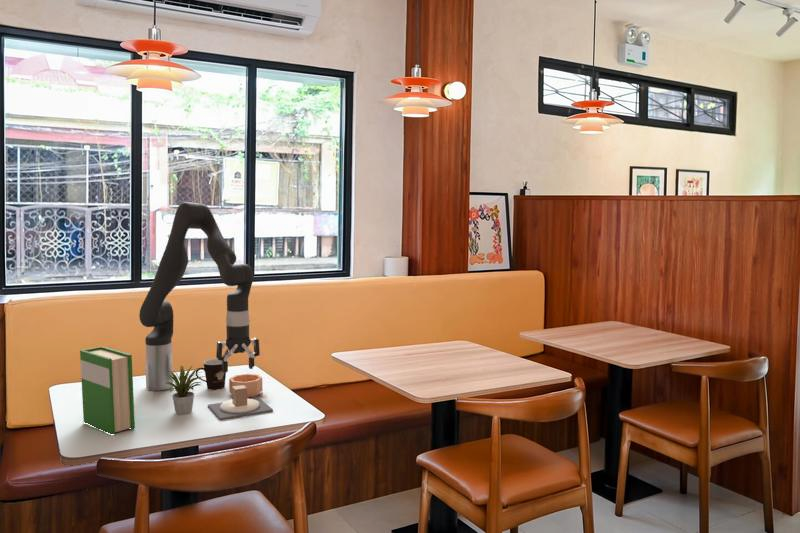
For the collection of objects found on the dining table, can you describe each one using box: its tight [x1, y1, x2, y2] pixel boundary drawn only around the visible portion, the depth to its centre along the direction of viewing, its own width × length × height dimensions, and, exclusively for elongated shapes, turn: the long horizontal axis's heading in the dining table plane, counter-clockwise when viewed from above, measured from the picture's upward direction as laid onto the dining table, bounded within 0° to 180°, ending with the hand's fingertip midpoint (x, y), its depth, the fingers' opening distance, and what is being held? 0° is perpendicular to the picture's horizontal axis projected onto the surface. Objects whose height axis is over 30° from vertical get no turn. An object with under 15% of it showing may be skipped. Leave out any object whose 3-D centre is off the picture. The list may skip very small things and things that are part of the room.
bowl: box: [228, 373, 264, 399], centre depth 244 cm, size 11×11×6 cm
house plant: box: [165, 365, 206, 416], centre depth 222 cm, size 14×14×16 cm
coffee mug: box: [195, 358, 227, 391], centre depth 252 cm, size 12×9×10 cm
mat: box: [207, 396, 274, 421], centre depth 227 cm, size 18×16×1 cm
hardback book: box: [79, 345, 136, 435], centre depth 209 cm, size 18×7×24 cm, turn 52°
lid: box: [220, 385, 259, 413], centre depth 227 cm, size 13×13×7 cm
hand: (238, 370), depth 226 cm, fingers open, 8 cm apart
